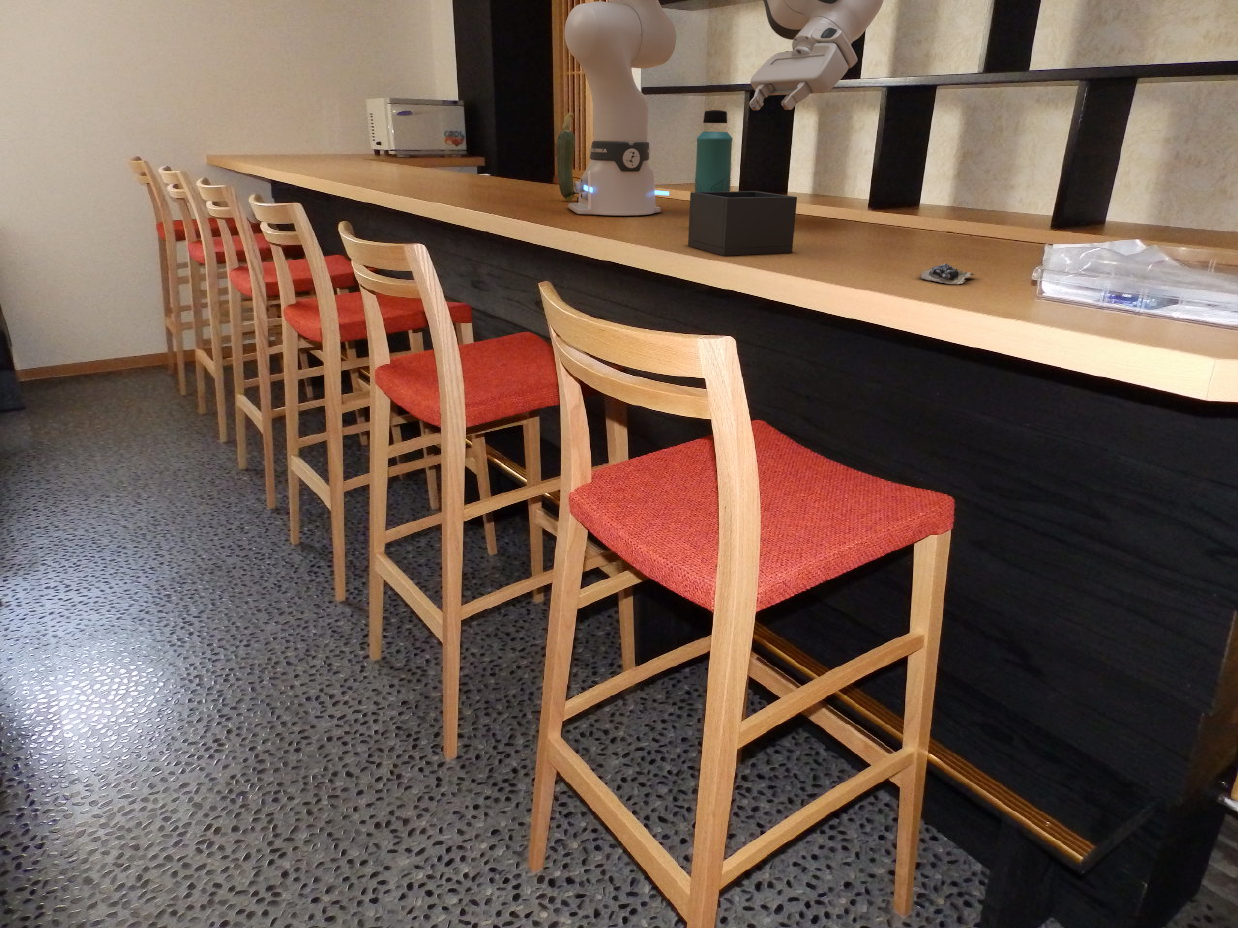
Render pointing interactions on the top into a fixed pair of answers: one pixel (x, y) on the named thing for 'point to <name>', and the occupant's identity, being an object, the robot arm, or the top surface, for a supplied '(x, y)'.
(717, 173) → the beverage bottle
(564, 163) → the vegetable
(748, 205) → the box
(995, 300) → the top surface
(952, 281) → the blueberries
